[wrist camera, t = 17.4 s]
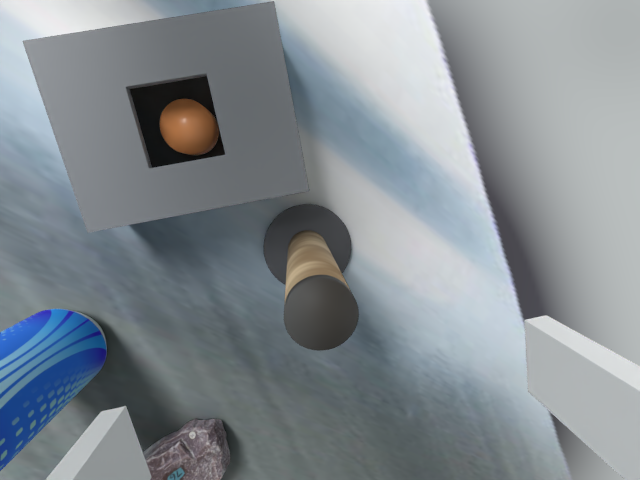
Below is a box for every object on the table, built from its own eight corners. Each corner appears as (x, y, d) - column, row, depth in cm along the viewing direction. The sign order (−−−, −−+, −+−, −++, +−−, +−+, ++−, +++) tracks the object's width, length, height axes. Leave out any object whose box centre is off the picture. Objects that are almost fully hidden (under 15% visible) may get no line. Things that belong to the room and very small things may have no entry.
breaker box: (126, 222, 31) (87, 232, 25) (78, 69, 28) (22, 40, 22) (306, 188, 32) (309, 190, 26) (277, 37, 29) (274, 1, 23)
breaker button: (175, 159, 29) (167, 157, 27) (162, 108, 28) (152, 103, 26) (224, 150, 29) (219, 148, 27) (212, 99, 28) (206, 94, 26)
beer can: (62, 287, 32) (-162, 393, 16) (131, 339, 33) (-12, 481, 18) (9, 343, 32) (-256, 499, 17) (79, 392, 34) (-103, 574, 18)
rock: (250, 445, 37) (244, 482, 33) (175, 499, 38) (159, 542, 33) (204, 398, 36) (191, 430, 31) (126, 455, 36) (103, 494, 32)
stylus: (292, 271, 33) (292, 357, 17) (284, 234, 32) (276, 288, 16) (329, 264, 33) (363, 342, 17) (323, 226, 32) (352, 273, 16)
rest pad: (274, 295, 34) (273, 297, 33) (255, 213, 32) (255, 214, 31) (356, 279, 34) (357, 281, 34) (342, 196, 32) (343, 197, 32)
